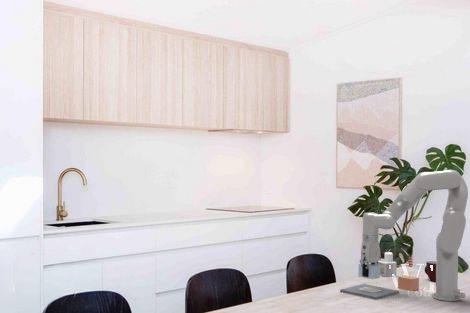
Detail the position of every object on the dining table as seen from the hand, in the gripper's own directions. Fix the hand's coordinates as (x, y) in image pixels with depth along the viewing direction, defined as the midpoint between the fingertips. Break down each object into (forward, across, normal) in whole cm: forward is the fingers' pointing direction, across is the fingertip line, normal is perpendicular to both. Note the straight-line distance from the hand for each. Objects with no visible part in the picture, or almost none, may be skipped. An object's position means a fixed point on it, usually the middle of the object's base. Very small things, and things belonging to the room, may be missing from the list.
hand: (369, 275), depth 284 cm
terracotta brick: (+8, +22, -8) cm, 25 cm away
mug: (+8, +50, -6) cm, 51 cm away
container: (+8, +44, +18) cm, 48 cm away
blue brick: (+1, 0, 0) cm, 1 cm away
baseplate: (+8, 0, 0) cm, 8 cm away
